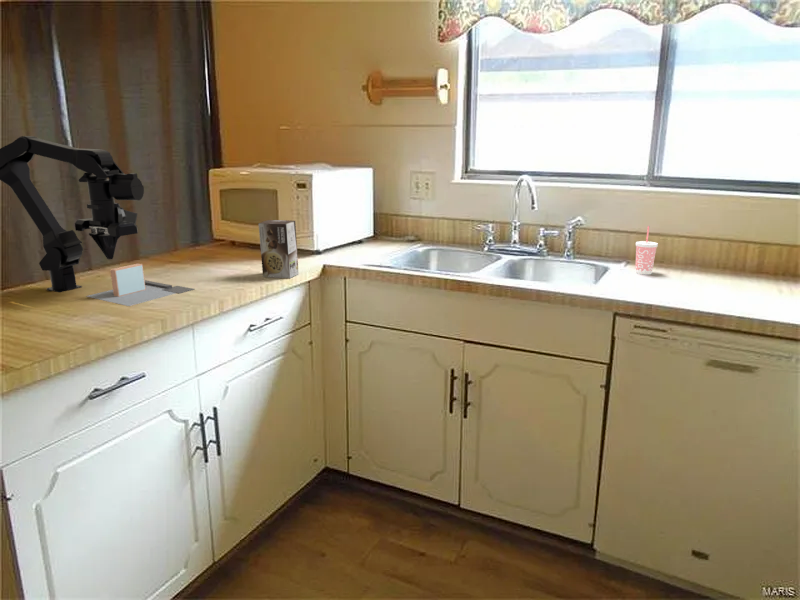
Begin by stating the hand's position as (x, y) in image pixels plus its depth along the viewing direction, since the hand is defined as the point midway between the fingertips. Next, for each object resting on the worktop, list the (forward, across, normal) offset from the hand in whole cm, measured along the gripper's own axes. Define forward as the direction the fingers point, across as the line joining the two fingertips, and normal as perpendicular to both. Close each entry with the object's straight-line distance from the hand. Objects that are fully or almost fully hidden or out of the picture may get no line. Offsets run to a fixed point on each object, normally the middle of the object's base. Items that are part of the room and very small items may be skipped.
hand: (110, 259), depth 156 cm
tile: (+8, -7, 0) cm, 11 cm away
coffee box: (+9, -27, -36) cm, 46 cm away
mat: (+9, -9, 0) cm, 12 cm away
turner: (+9, -9, -9) cm, 15 cm away
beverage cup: (+8, -119, -93) cm, 151 cm away
